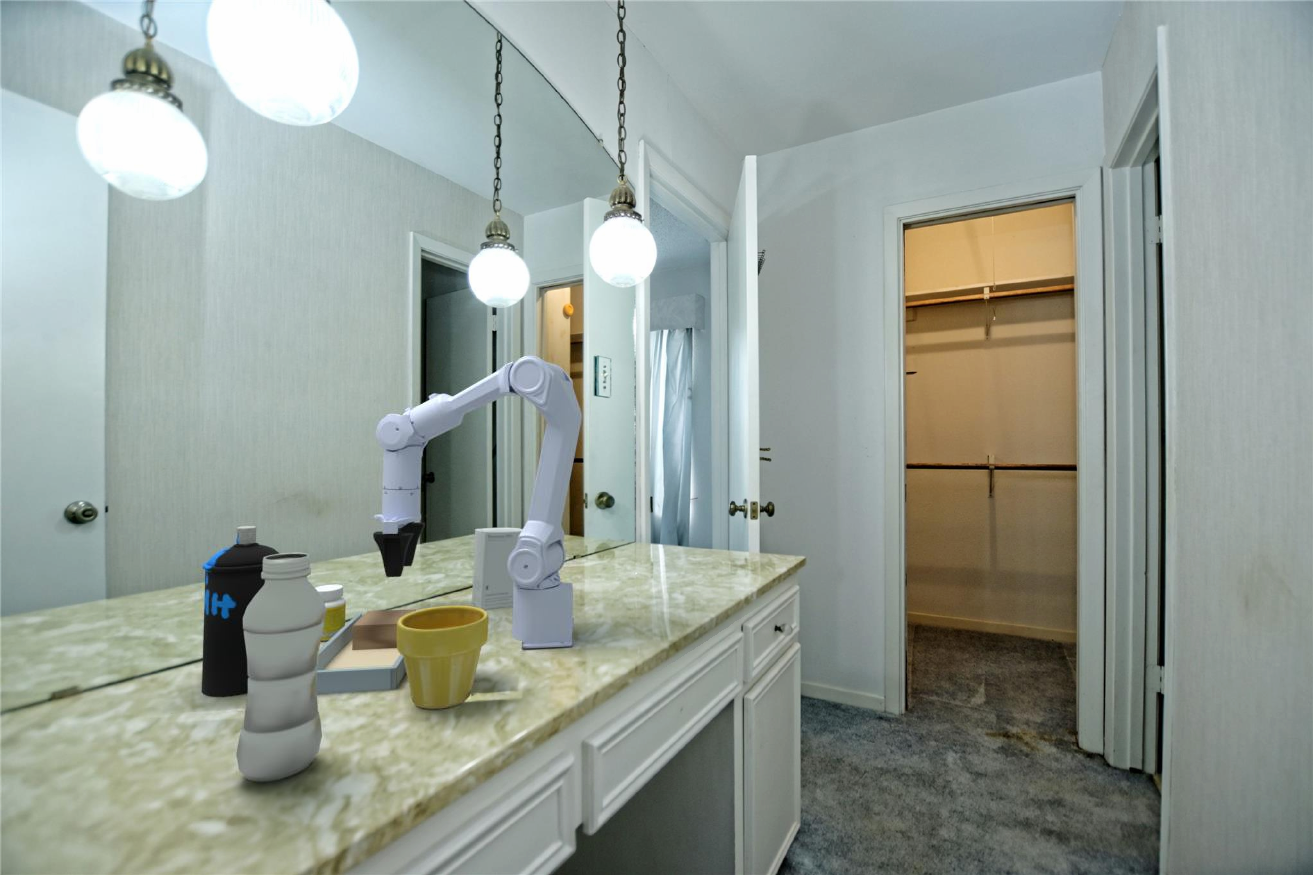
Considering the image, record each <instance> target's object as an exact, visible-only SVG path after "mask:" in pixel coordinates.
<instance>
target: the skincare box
mask: <svg viewBox="0 0 1313 875" xmlns="http://www.w3.org/2000/svg"><path fill="white" fill-rule="evenodd" d="M522 530H523V528H519V527H487V528H486V527H483V528H476V529H474V548H473V549H474V550H473V570H472V571H473V573H472V576H473V577H472V594H471V595H472V596H471V604H472V605H473V606H474V607H476V608H480V609H483V610H485V611H488V610H493V609H494V610H495V609H500V608H507V607H513V586H514V581H513V580H512V579H511V577H510V576H509V574H508V570H507V562H508V558H509V556H510V554H511V553H512V551H513V550H514V549H515V547H516V545H517V542H518V537H519V535H520V533H521V531H522Z"/></svg>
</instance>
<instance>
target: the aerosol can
mask: <svg viewBox="0 0 1313 875" xmlns="http://www.w3.org/2000/svg"><path fill="white" fill-rule="evenodd" d="M236 533H237V534H236V536H237V537H236V539H235V541H236V543H234V544H232V546H229V547H227V548H224V549H222V550H220V551H218V552H217V551H216V553H215V554H214V555H213V556H211V557H210V558H209V560H208V561H206V562H204V563H203V564H202V569H203V570H205V571H204V572H205V573H204V576H205V577H204V602H203V631H202V632H203V634H202V637H203V639H202V662H201V663H202V666H201V667H202V668H201V670H202V672H201V693H202V694H203V695H204V696H206V697H210V698H211V697H212V698H227V697H235V696H242V695H248V678H249V676H248V665H247V652H246V645H245V638H244V629H243V616H244V614H245V611H246V608H247V606H248V605H249V603H250V602H251V600H252V599H253V598H254V596H255V595H256V594H257V593H258V591H259V590H260V589H261V588H262V587H263V586H264V584H265V579H262V578H261V573H262V572H263V558H264V557H266V556H269V555H275V554H281V553H280V552H279V551H277V550H276V549H275V548H274V547H271V546H268V545H264V544H259V542H257V526H255V525H245V526H244V525H243V526H238V527H236Z"/></svg>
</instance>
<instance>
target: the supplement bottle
mask: <svg viewBox="0 0 1313 875" xmlns="http://www.w3.org/2000/svg"><path fill="white" fill-rule="evenodd" d="M314 588H315V589H316V590H317V591H318V592H319V594H320V595H321V597H322V598H323V600H324V603H325V607H326V615H325V620H324V627H323V632H322V637H321V642H320V643H327V642H328V641H329V640H330V639H331V638H332V637H333V636H334V635H335V634H336V633H337V632H338V631H339V630H341V629H342V628H343V627H344V626H345V625H346V599H345V598H344V597H343V596H344V586H343V585H341V584H326V585H320V586H316V587H314Z"/></svg>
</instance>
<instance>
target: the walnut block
mask: <svg viewBox="0 0 1313 875" xmlns="http://www.w3.org/2000/svg"><path fill="white" fill-rule="evenodd" d="M414 611H417V609H416V608H413V609H385V610H384V609H383V610H367V611H366V612H365V613H364V614H362V617H361V618H360V619H359V620H358V621H357V622H356V623H355V624H354V625H353V639H352V650H368V649H389V648H397V622H398V620H399V619H400V618H401V617H403V616H404V615H406V614H408V613H411V612H414Z"/></svg>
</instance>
